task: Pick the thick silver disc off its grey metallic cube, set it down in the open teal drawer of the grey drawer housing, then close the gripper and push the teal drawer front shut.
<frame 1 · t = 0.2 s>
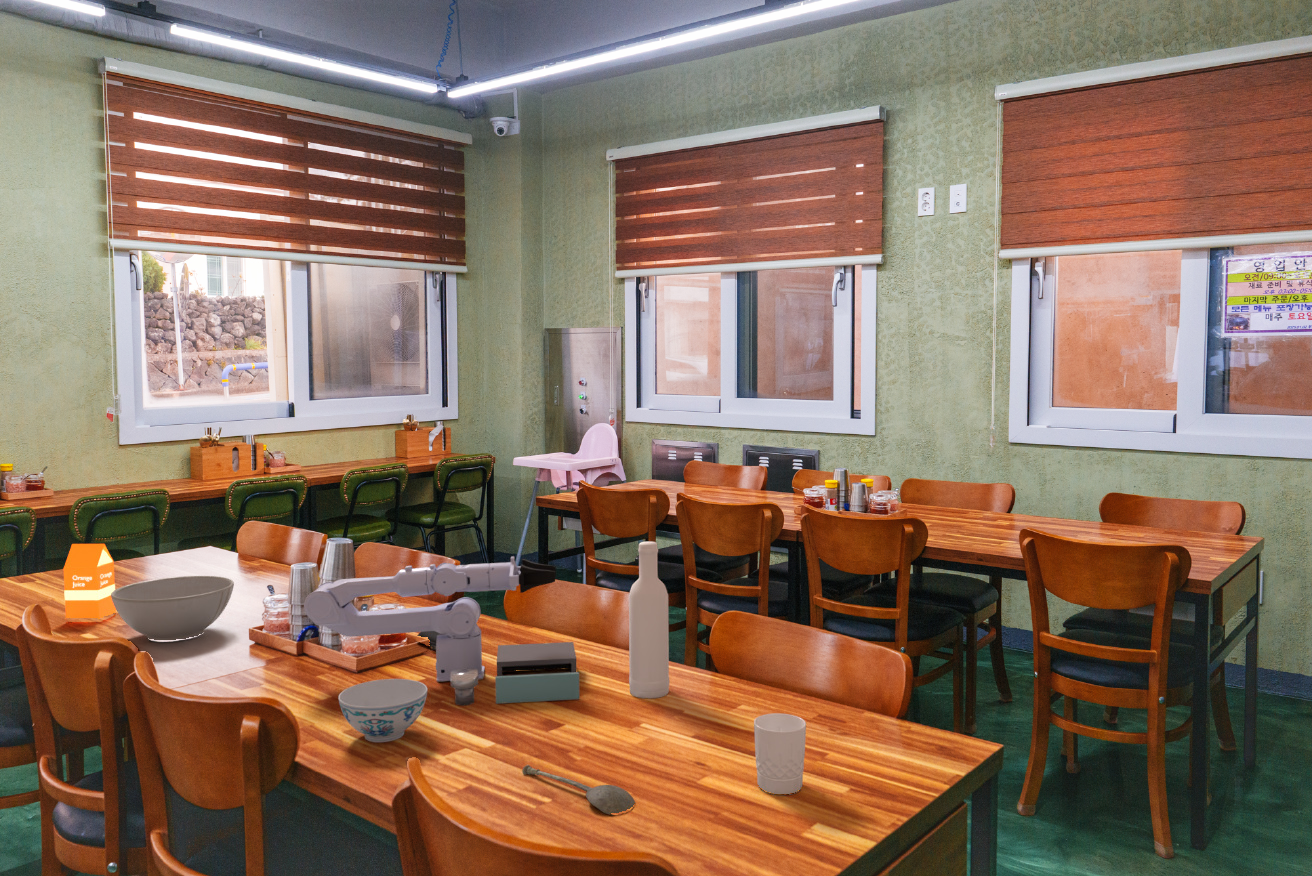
hand: (555, 573, 201), 21 cm above the table, tool horizontal, fingers open, 7 cm apart
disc: (464, 684, 184), point 3 cm above the table, touching grey metallic cube
chinaware: (384, 736, 168), on the table
teal drawer: (537, 679, 190), point 3 cm above the table, slide at 8.0 cm
grey drawer housing: (536, 677, 199), on the table
carrying case or bag: (444, 647, 224), on the table
white cup: (779, 787, 146), on the table
grey metallic cube: (464, 702, 184), on the table
bottle: (649, 693, 189), on the table
orange juice: (91, 620, 250), on the table
soupspoon: (575, 795, 145), on the table
decorative bowl: (175, 636, 233), on the table
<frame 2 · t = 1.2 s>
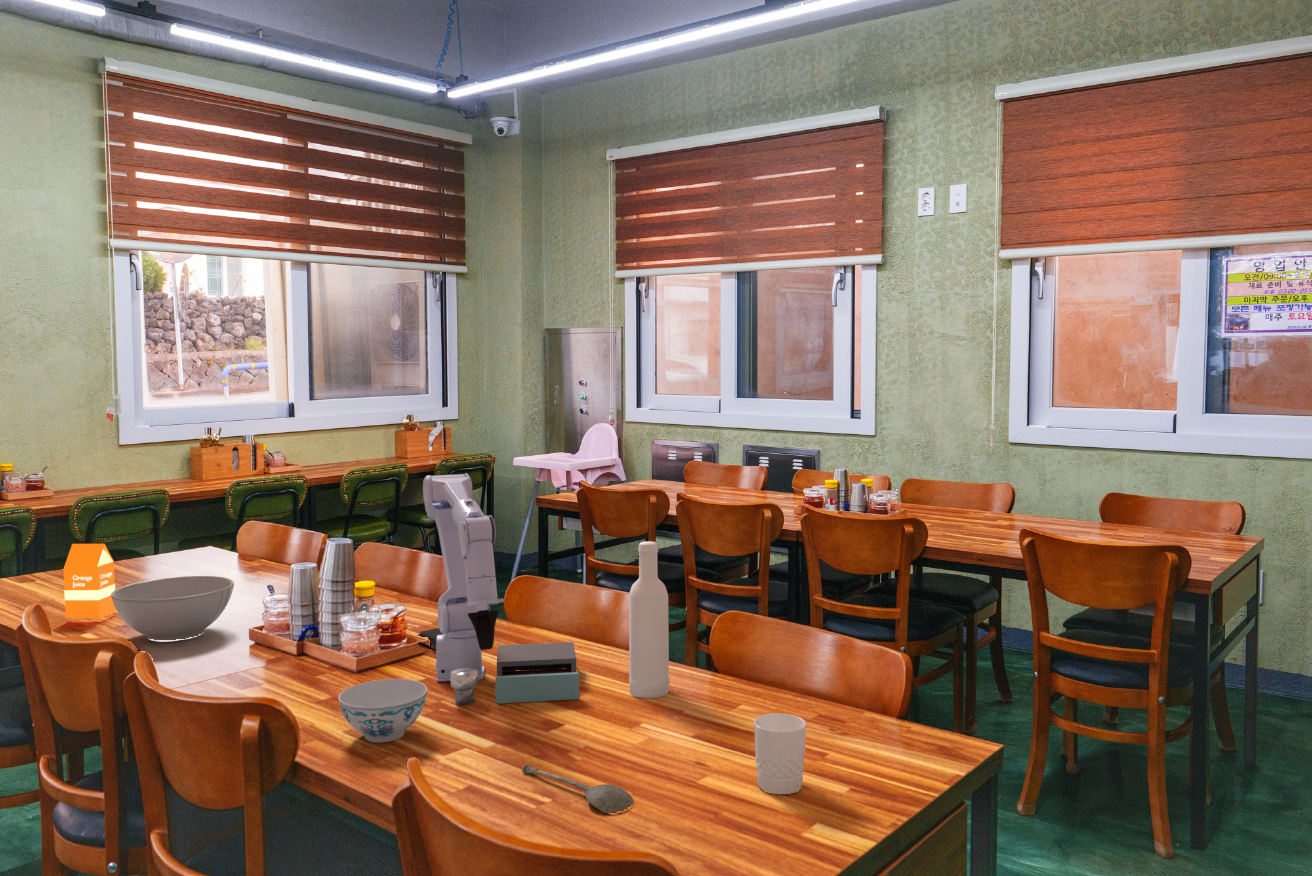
hand: (486, 649, 184), 10 cm above the table, tool pointing down, fingers open, 7 cm apart
nothing on the table moved.
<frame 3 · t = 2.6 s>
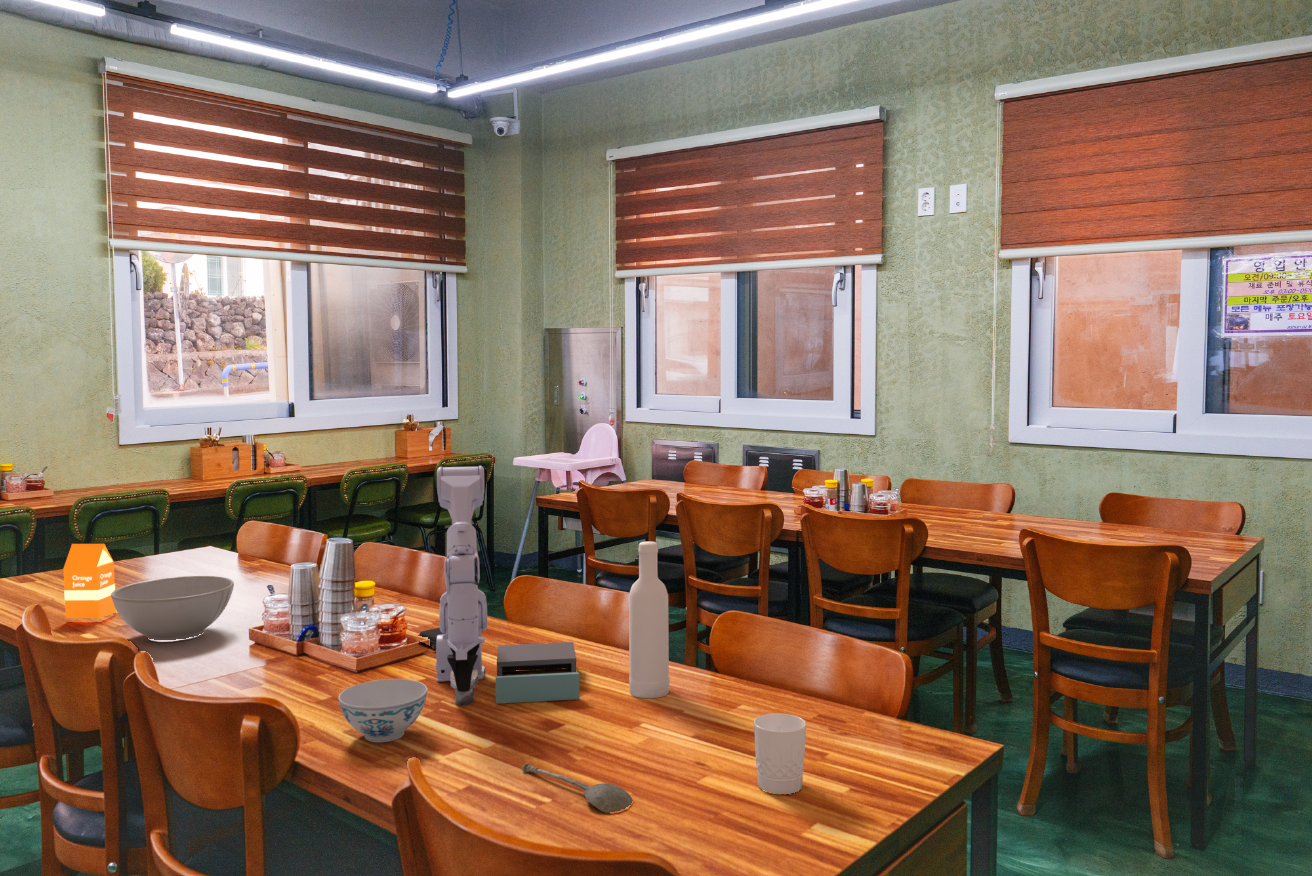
hand: (464, 686, 184), 3 cm above the table, tool pointing down, fingers closed on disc, 5 cm apart
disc: (464, 684, 184), point 3 cm above the table, touching gripper, grey metallic cube
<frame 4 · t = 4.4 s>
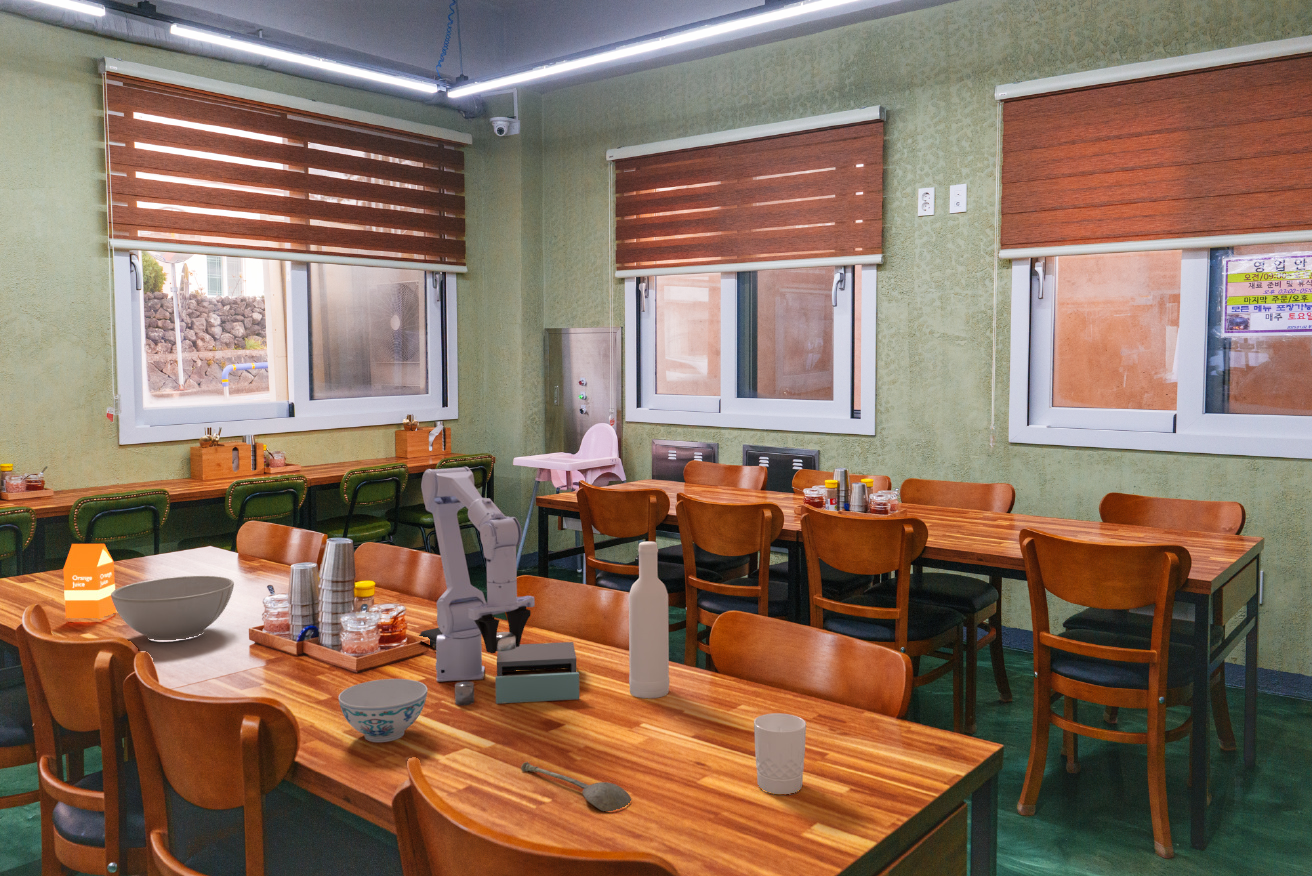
hand: (503, 649, 186), 10 cm above the table, tool pointing down, fingers closed on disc, 5 cm apart
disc: (502, 647, 186), point 10 cm above the table, touching gripper
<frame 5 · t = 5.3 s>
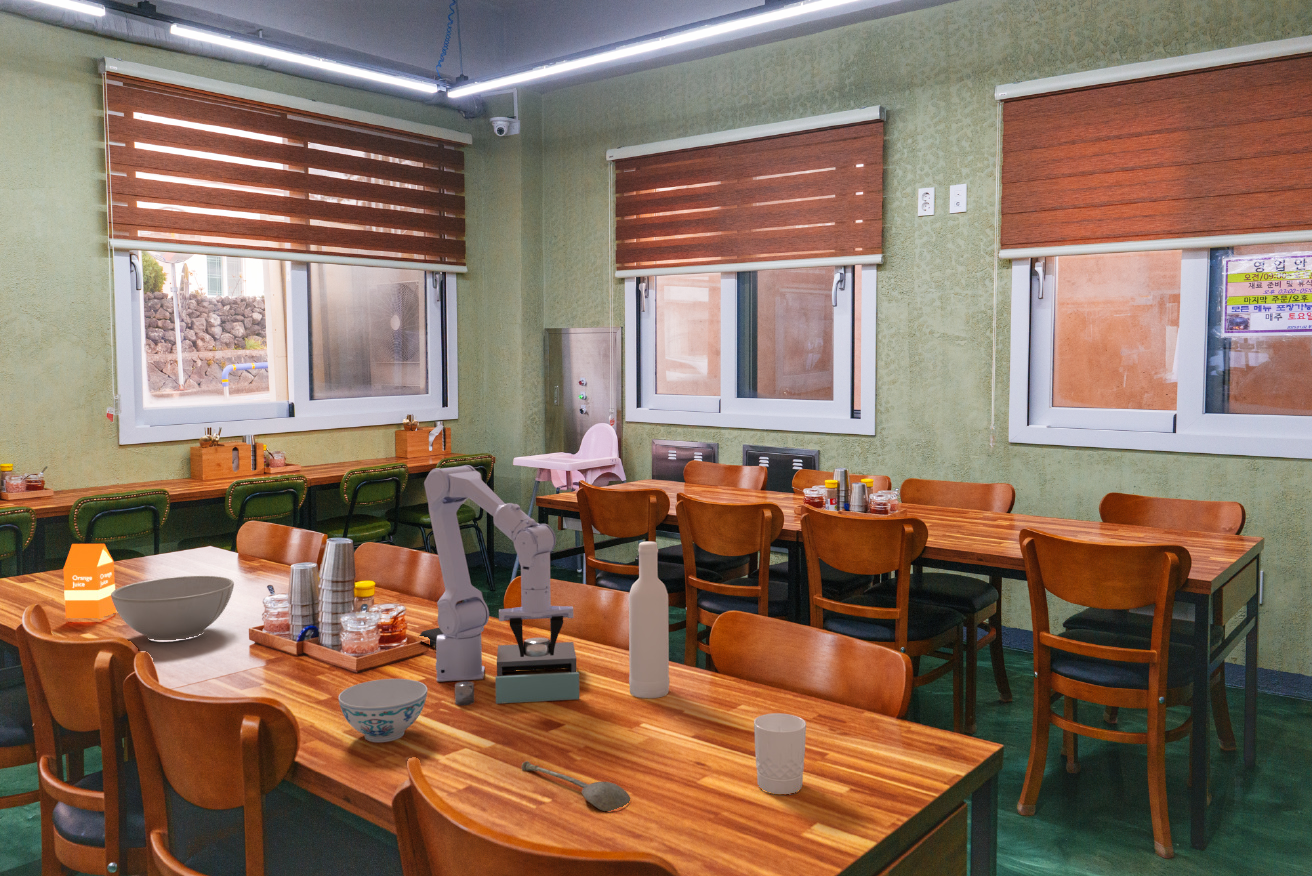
hand: (536, 654, 189), 8 cm above the table, tool pointing down, fingers closed on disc, 5 cm apart
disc: (537, 653, 189), point 8 cm above the table, touching gripper
when the fingers open (2 cm above the table, at t = 6.8 s): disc drops 1 cm, resting on teal drawer.
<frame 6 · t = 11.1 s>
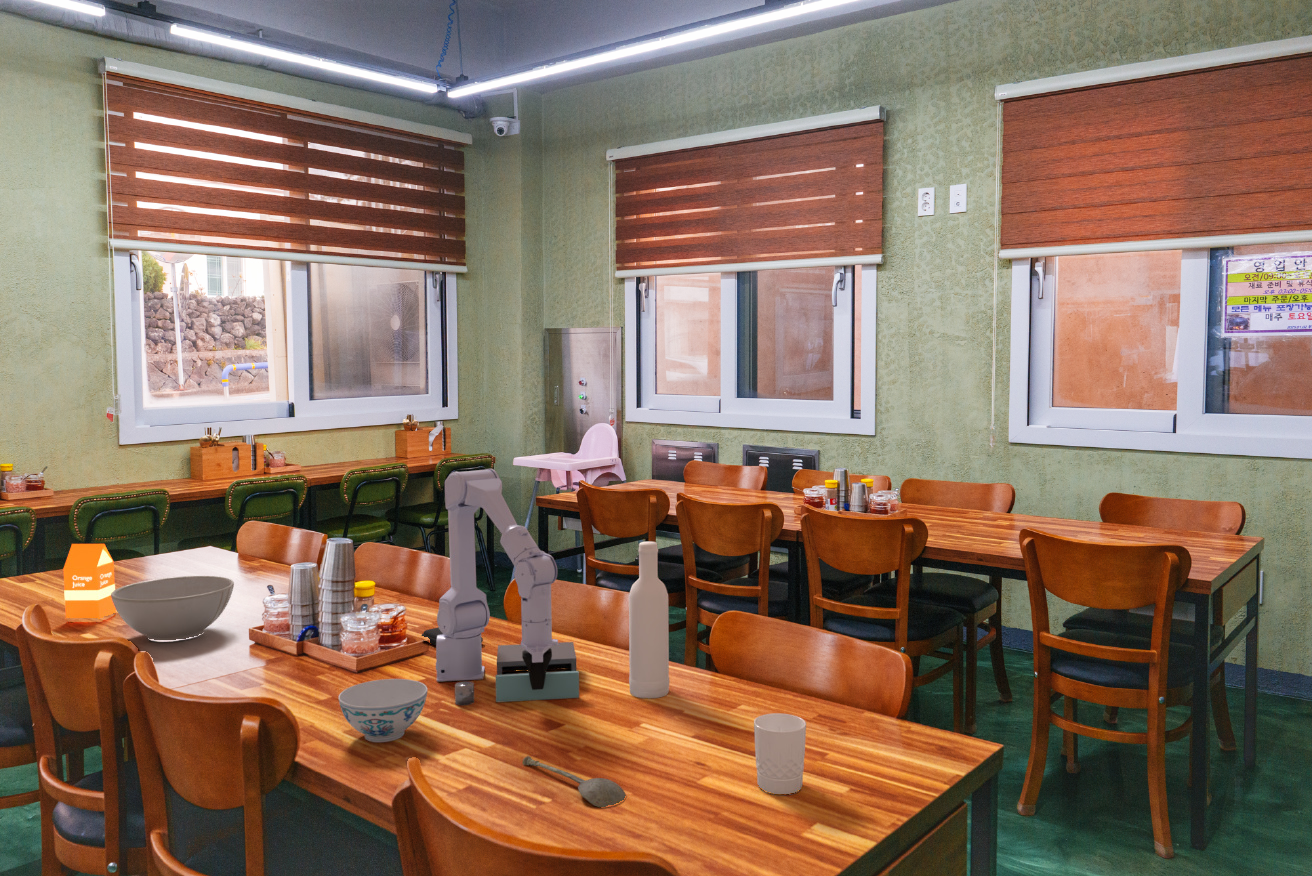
hand: (537, 688, 183), 3 cm above the table, tool pointing down, fingers closed
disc: (537, 687, 190), point 1 cm above the table, touching teal drawer
teal drawer: (537, 677, 190), point 3 cm above the table, slide at 7.2 cm, touching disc, gripper
soupspoon: (570, 787, 148), on the table
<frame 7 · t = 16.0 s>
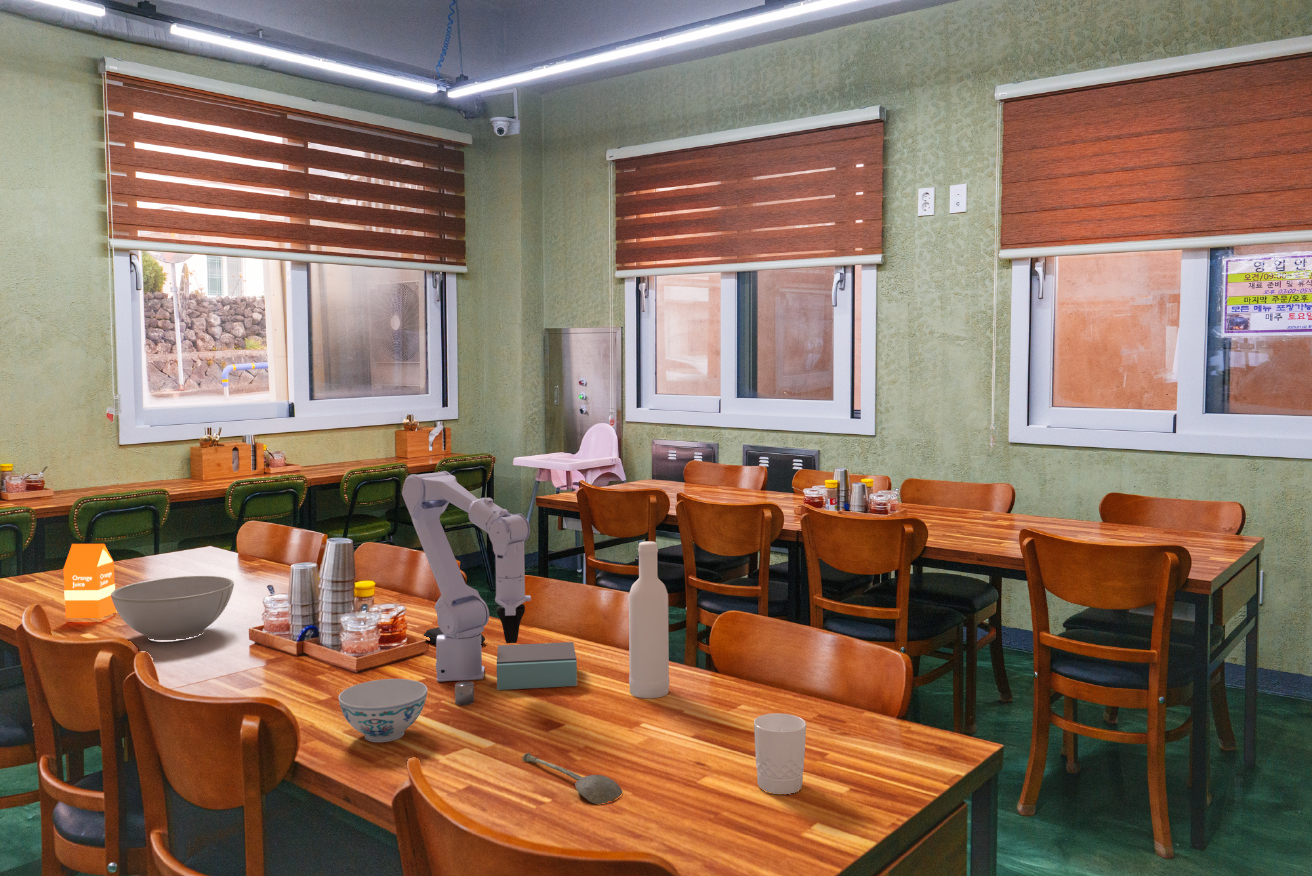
hand: (511, 642, 192), 9 cm above the table, tool pointing down, fingers closed
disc: (536, 675, 197), point 1 cm above the table, touching teal drawer
teal drawer: (536, 666, 198), point 3 cm above the table, slide at 0.0 cm, touching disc
soupspoon: (568, 783, 149), on the table
at the end: teal drawer slide at 0.0 cm; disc inside the target area on the grey drawer housing (1.5 cm from its centre), point 1.0 cm above the grey drawer housing's base; the gripper is holding nothing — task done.
